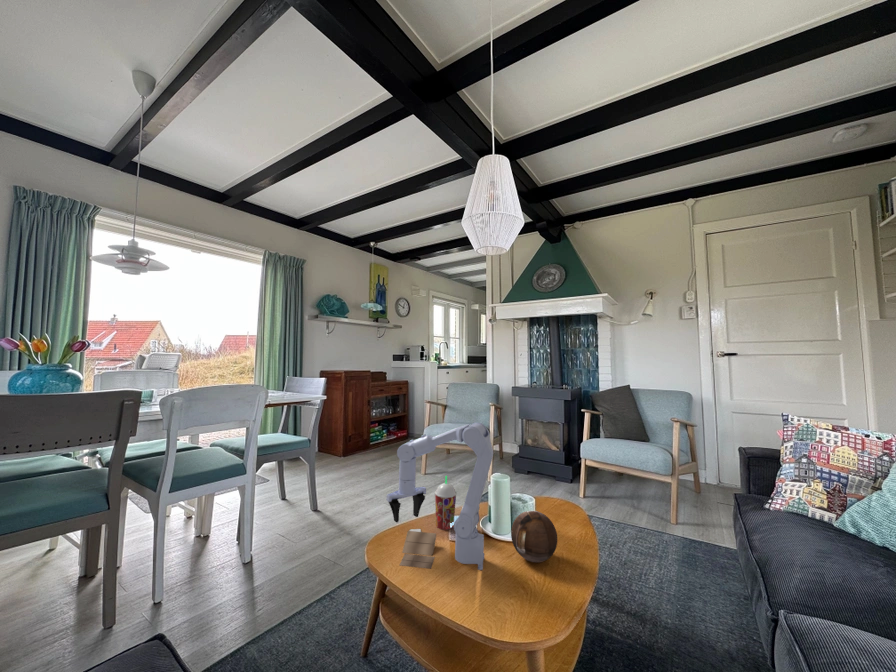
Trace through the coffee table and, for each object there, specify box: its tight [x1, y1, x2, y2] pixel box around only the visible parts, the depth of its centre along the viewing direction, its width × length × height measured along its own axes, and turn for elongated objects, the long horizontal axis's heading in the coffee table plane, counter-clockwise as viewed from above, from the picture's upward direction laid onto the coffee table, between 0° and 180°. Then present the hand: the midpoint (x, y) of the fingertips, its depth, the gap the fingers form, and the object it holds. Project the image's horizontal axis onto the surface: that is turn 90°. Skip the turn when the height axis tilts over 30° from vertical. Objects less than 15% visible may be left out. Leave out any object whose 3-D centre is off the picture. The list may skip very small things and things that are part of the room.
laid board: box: [399, 553, 436, 570], centre depth 112 cm, size 10×7×2 cm
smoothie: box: [434, 475, 457, 531], centre depth 137 cm, size 8×8×20 cm
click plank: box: [401, 530, 437, 556], centre depth 120 cm, size 10×8×1 cm
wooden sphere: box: [510, 510, 558, 563], centre depth 118 cm, size 15×15×15 cm
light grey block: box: [409, 528, 422, 532], centre depth 131 cm, size 4×2×2 cm, turn 102°
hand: (406, 518), depth 122 cm, fingers open, 7 cm apart
